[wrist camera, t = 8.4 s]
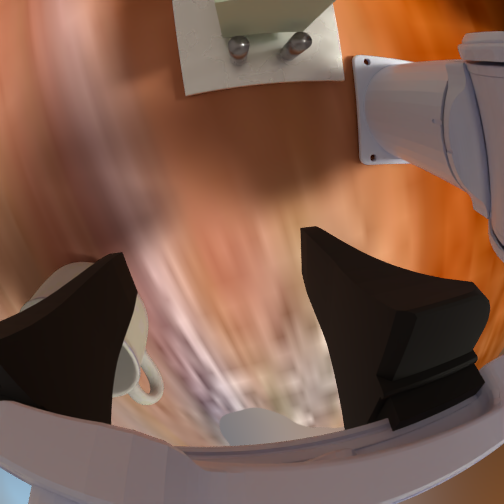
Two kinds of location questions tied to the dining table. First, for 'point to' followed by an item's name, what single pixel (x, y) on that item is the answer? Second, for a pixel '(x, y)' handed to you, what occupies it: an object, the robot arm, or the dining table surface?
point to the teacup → (133, 344)
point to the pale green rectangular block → (267, 15)
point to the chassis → (252, 52)
